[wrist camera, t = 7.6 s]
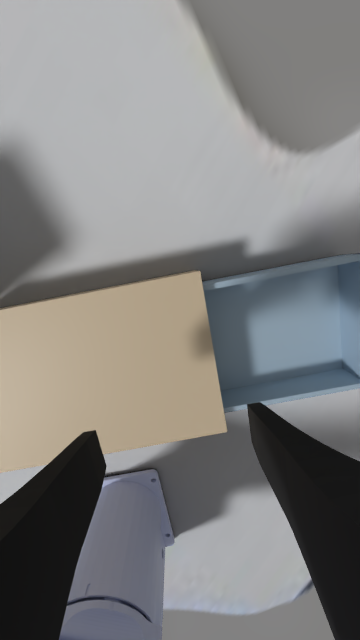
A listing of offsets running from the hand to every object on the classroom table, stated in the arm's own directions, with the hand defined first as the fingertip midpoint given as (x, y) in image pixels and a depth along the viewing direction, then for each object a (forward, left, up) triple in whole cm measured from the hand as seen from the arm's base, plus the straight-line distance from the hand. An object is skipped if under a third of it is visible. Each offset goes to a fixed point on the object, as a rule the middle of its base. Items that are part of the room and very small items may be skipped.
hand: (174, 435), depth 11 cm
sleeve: (+1, +6, -10) cm, 12 cm away
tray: (+1, -6, -10) cm, 12 cm away
